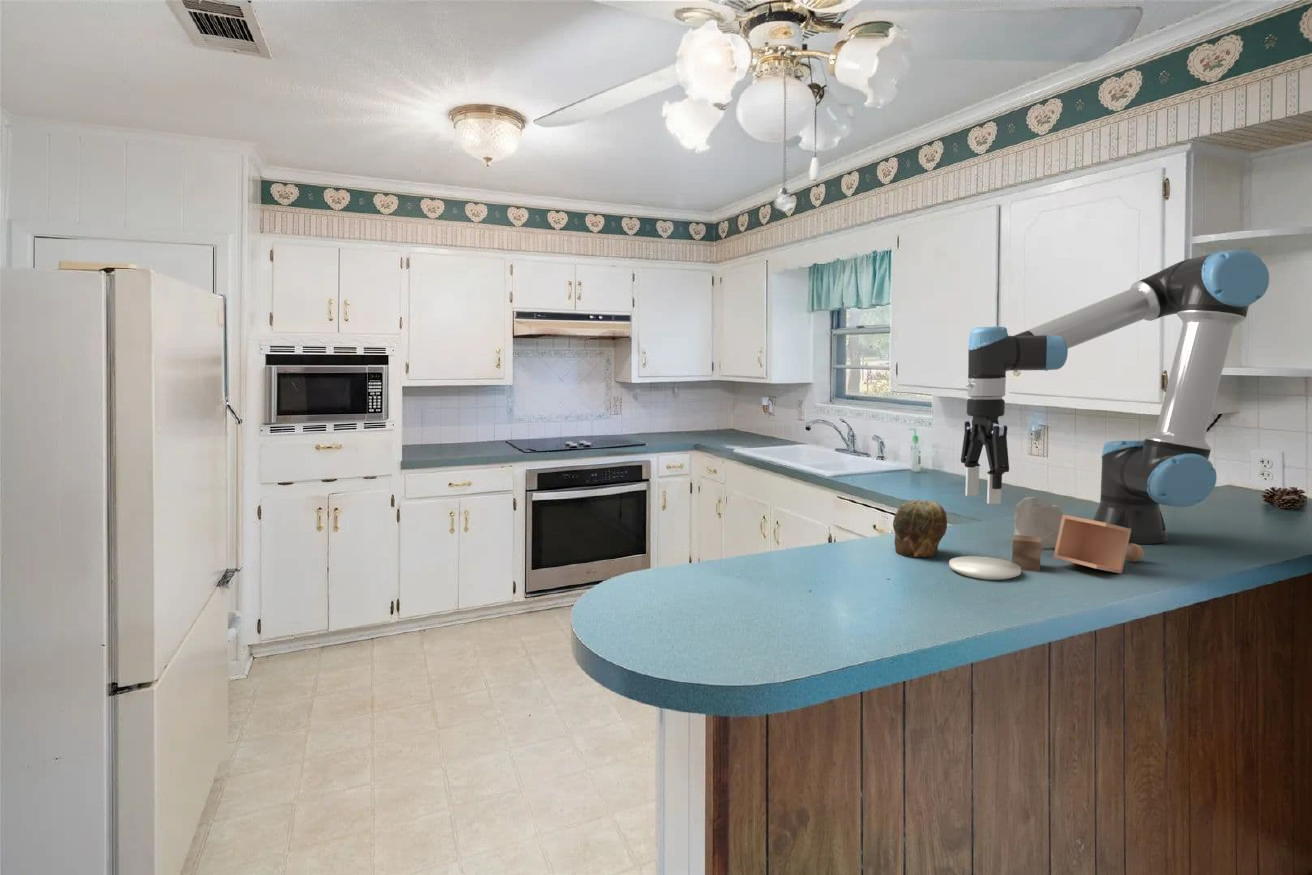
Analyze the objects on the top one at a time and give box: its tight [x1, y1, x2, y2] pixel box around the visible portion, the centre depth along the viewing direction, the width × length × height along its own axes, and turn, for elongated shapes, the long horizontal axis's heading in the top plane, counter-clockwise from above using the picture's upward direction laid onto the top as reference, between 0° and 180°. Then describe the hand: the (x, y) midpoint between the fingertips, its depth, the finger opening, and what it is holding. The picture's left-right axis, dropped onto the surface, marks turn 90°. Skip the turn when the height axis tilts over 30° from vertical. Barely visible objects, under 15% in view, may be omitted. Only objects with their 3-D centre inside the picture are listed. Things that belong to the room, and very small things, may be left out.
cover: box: [1053, 514, 1145, 574], centre depth 142 cm, size 9×9×19 cm
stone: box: [1013, 496, 1064, 550], centre depth 158 cm, size 10×5×12 cm, turn 81°
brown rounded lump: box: [892, 499, 948, 558], centre depth 153 cm, size 11×11×12 cm
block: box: [1011, 534, 1042, 572], centre depth 142 cm, size 5×5×6 cm
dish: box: [948, 555, 1022, 581], centre depth 139 cm, size 13×13×1 cm
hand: (982, 499), depth 155 cm, fingers open, 9 cm apart
